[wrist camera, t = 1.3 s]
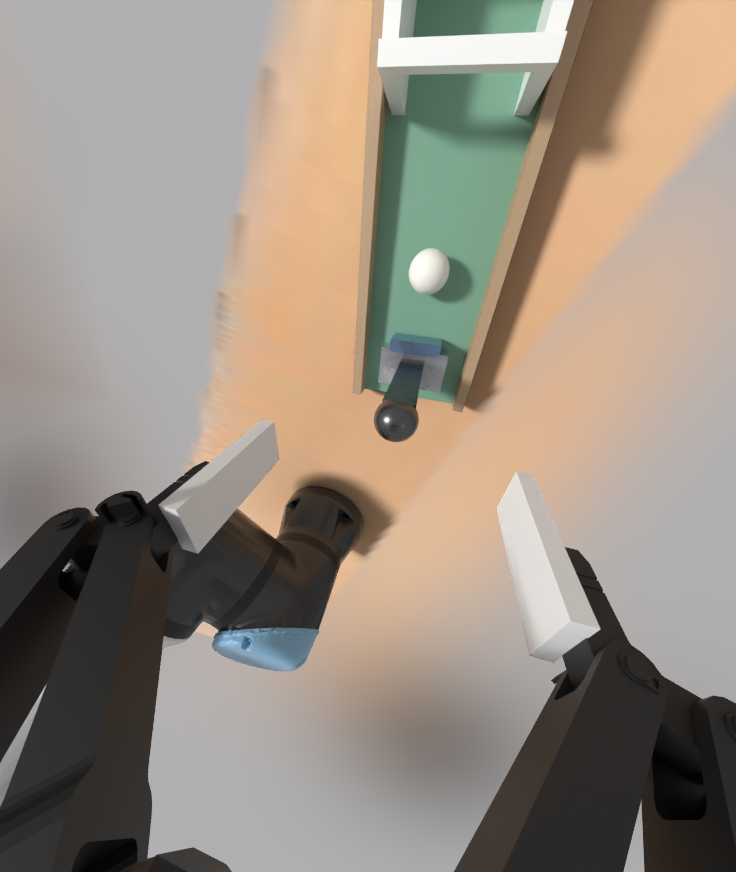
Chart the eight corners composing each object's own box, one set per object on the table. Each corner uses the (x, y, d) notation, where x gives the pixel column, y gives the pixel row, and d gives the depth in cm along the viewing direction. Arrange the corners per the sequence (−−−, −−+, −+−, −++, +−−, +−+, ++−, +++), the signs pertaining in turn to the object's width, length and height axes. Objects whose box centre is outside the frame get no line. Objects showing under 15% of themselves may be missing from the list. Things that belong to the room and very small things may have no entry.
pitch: (460, 401, 32) (462, 412, 29) (359, 384, 34) (352, 393, 31) (600, -55, 15) (630, -117, 13) (386, -37, 17) (377, -87, 15)
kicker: (439, 386, 30) (438, 465, 18) (381, 376, 31) (342, 444, 19) (451, 340, 27) (458, 396, 15) (386, 331, 28) (344, 377, 16)
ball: (443, 295, 26) (444, 298, 23) (407, 291, 26) (403, 294, 23) (453, 251, 24) (455, 248, 21) (414, 247, 24) (410, 244, 21)
